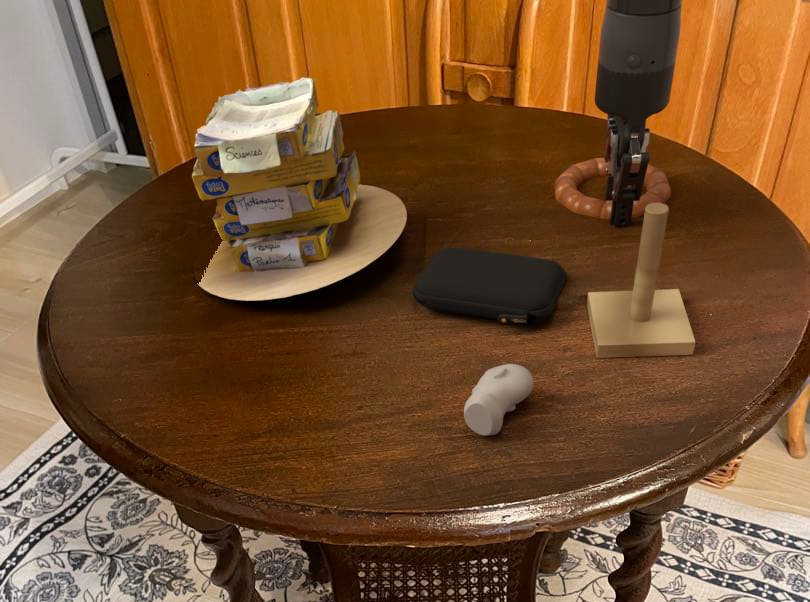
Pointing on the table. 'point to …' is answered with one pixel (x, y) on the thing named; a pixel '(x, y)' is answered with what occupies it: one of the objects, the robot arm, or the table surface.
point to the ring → (601, 208)
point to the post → (642, 305)
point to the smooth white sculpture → (496, 397)
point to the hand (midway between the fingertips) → (616, 218)
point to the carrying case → (490, 285)
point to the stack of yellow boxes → (286, 196)
